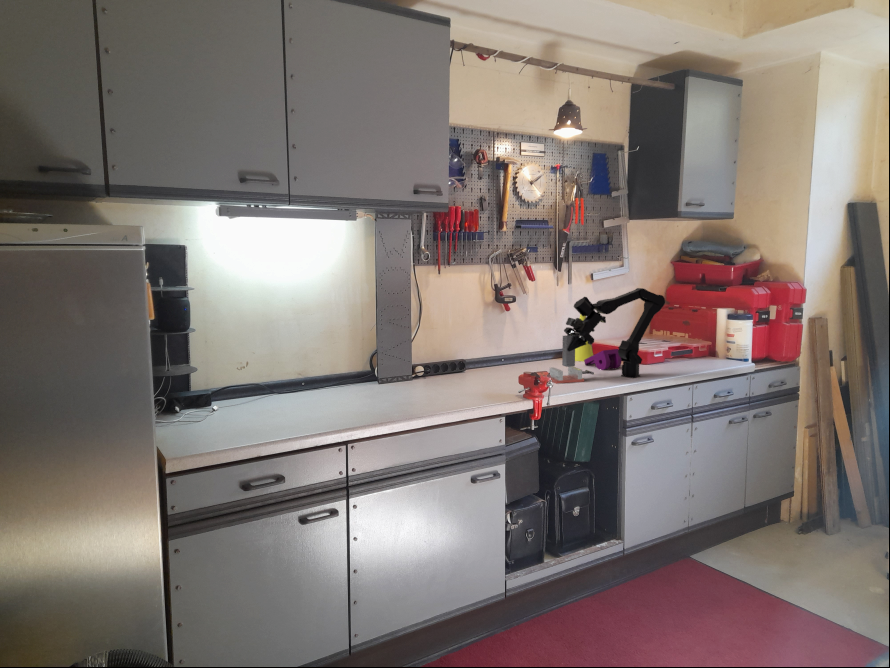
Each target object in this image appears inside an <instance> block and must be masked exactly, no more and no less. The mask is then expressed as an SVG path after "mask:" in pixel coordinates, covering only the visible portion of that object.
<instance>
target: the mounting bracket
mask: <svg viewBox="0 0 890 668" xmlns="http://www.w3.org/2000/svg"><path fill="white" fill-rule="evenodd" d="M618 350H619V348H614V349H605V350H604V349H603V350H601V351H599V352H597V353H595V354H593V356H591V357H589V358H587V359H585V360H584V361H583V362H584V364H585V366H588V364H589V365H595V367H596V368H597V369H598V370H600V369H601V370H600V371H605V370H606V369H607V370H608V369H609V367H610V369H613V368H614V370H615V368H616V369H619V368H620V367H622V361H621V357H620V356H619V354H618ZM607 370H606V371H607Z"/></svg>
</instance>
